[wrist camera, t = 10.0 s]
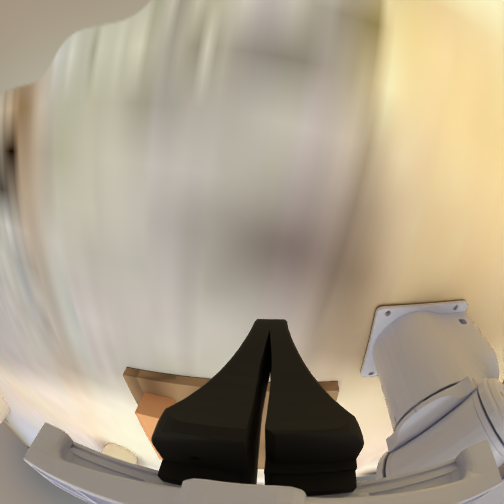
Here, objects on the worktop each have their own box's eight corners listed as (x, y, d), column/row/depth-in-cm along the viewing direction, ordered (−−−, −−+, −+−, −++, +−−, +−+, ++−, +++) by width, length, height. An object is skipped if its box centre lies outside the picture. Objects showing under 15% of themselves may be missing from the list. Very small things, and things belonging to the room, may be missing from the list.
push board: (337, 381, 25) (338, 390, 24) (314, 462, 32) (314, 469, 31) (126, 367, 27) (122, 374, 26) (170, 450, 35) (168, 456, 34)
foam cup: (151, 459, 38) (131, 516, 26) (137, 466, 41) (119, 515, 30) (104, 433, 37) (77, 489, 25) (96, 444, 40) (73, 491, 28)
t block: (239, 408, 26) (235, 431, 23) (240, 455, 31) (237, 473, 28) (144, 392, 27) (135, 412, 24) (165, 442, 32) (159, 458, 29)
